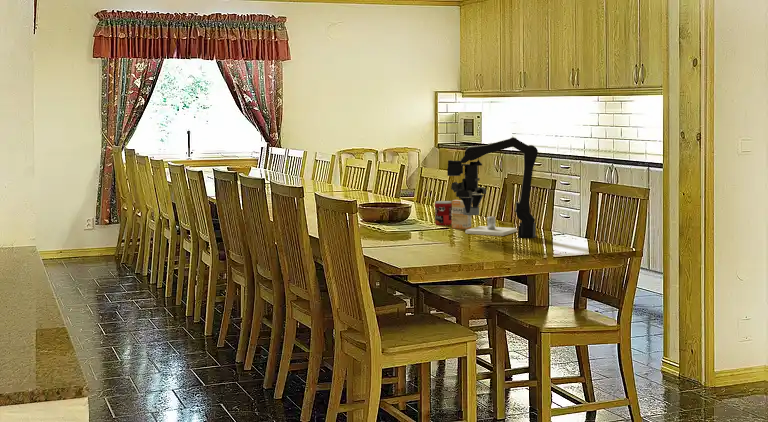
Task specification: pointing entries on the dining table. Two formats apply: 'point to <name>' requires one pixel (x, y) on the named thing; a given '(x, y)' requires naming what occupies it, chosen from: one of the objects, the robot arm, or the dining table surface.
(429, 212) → the dining table surface
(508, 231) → the base plate
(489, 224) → the steel pin
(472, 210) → the gunmetal ring
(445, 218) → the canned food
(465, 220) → the supplement box
